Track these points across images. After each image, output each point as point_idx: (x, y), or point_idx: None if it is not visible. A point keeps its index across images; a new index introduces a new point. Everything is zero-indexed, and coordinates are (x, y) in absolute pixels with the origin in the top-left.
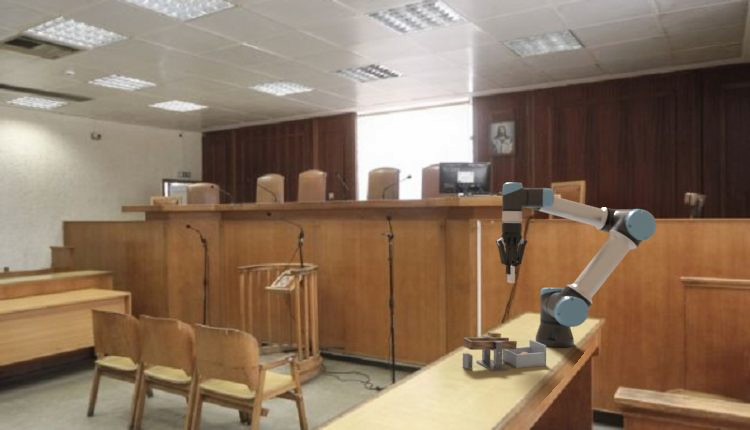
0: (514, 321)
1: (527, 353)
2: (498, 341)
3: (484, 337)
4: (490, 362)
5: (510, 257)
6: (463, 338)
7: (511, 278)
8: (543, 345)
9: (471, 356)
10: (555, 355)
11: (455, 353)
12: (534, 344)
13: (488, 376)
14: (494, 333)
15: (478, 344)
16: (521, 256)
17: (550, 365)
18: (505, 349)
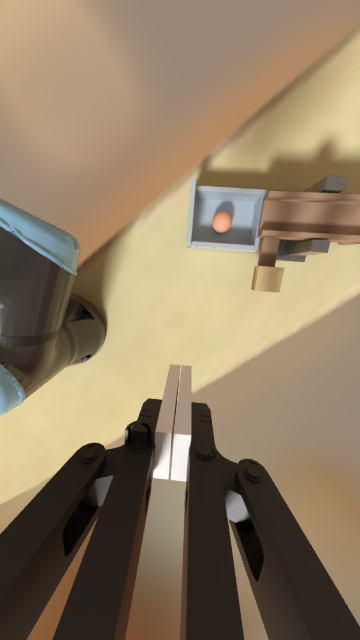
0: (52, 473)
1: (220, 214)
2: (334, 183)
3: (329, 242)
4: (287, 241)
5: (203, 543)
6: None
7: (189, 379)
8: (195, 183)
9: None
10: (125, 254)
11: (293, 331)
12: (192, 224)
13: (345, 172)
14: (278, 267)
15: None
16: (20, 537)
17: (180, 196)
18: (257, 241)
